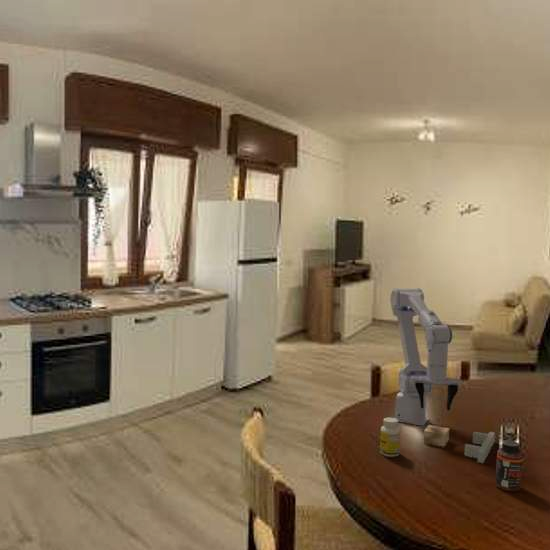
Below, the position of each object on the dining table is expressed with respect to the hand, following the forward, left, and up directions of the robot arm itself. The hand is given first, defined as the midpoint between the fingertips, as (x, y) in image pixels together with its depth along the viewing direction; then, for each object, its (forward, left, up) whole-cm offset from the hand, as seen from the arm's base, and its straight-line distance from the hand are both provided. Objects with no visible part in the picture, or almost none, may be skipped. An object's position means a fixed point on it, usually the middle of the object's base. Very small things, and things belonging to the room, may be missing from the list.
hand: (435, 408), depth 181 cm
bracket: (+14, -4, -9) cm, 17 cm away
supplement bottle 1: (-7, -20, -9) cm, 23 cm away
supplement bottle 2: (+25, -25, -9) cm, 36 cm away
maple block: (+2, -4, -9) cm, 10 cm away
